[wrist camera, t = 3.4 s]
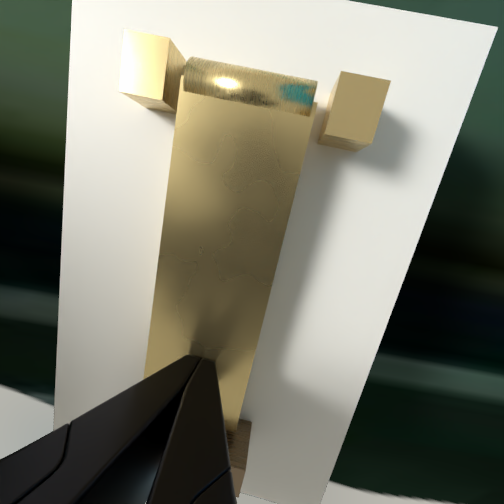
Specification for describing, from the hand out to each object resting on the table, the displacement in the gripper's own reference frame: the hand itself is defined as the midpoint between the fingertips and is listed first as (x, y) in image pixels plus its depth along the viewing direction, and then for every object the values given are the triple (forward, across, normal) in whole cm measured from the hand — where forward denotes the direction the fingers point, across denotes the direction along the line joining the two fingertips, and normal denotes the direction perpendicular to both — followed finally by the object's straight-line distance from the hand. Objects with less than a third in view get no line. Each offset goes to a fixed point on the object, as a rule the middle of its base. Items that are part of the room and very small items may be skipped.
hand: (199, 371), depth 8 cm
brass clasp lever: (+1, 0, -3) cm, 3 cm away
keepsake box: (+6, 0, -2) cm, 6 cm away
